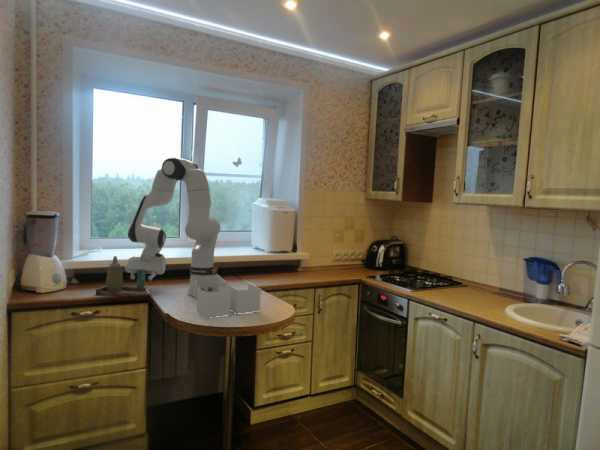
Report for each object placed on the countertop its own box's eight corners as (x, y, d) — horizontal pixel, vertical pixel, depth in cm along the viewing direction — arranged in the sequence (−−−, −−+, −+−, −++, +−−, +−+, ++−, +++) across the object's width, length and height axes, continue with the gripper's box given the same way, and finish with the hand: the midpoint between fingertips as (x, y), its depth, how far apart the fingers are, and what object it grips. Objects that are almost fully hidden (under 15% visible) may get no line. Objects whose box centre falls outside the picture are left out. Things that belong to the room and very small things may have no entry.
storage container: (204, 319, 162) (205, 293, 162) (196, 312, 172) (197, 287, 171) (259, 313, 176) (260, 288, 175) (249, 306, 185) (250, 283, 184)
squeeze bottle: (126, 291, 201) (127, 256, 200) (113, 294, 194) (114, 258, 193) (115, 289, 204) (116, 254, 203) (101, 292, 197) (102, 256, 196)
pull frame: (146, 289, 207) (147, 269, 206) (133, 296, 192) (133, 275, 191) (112, 287, 208) (112, 267, 207) (95, 294, 192) (96, 272, 192)
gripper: (128, 253, 212) (118, 274, 203) (166, 255, 211) (158, 276, 202) (132, 260, 216) (122, 281, 207) (169, 262, 216) (161, 283, 206)
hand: (140, 279), depth 204 cm, fingers open, 8 cm apart
